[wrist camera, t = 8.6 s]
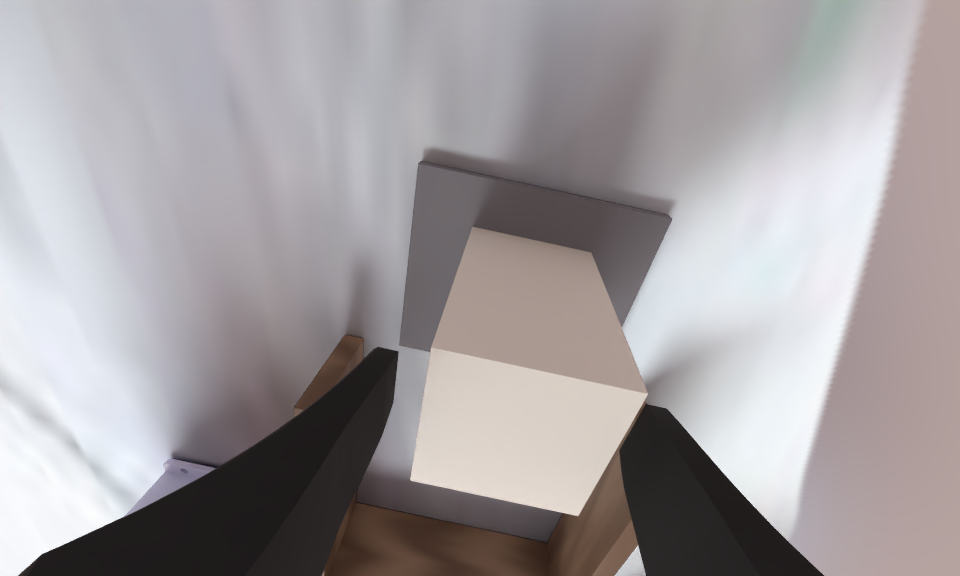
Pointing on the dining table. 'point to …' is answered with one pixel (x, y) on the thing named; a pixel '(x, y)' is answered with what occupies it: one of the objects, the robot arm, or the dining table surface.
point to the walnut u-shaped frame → (467, 550)
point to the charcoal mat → (519, 212)
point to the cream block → (526, 377)
